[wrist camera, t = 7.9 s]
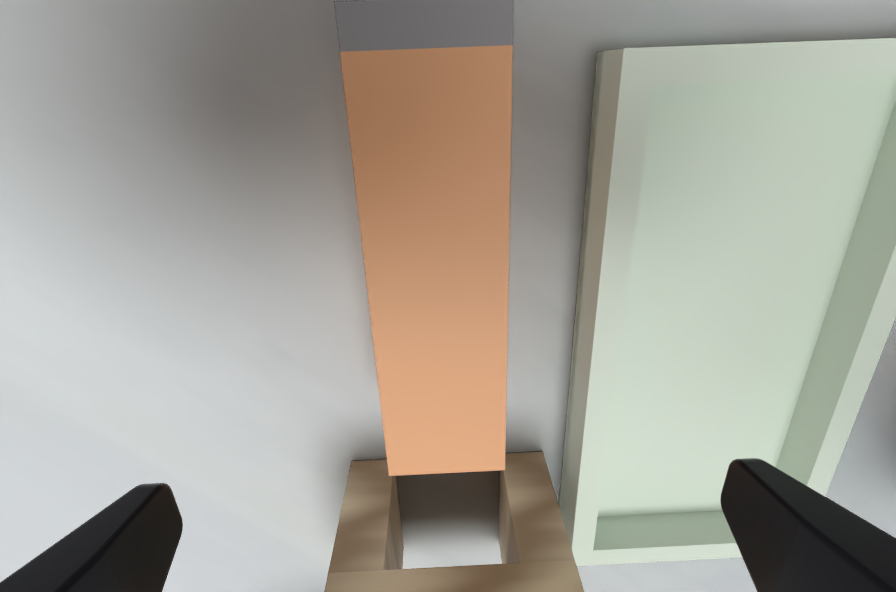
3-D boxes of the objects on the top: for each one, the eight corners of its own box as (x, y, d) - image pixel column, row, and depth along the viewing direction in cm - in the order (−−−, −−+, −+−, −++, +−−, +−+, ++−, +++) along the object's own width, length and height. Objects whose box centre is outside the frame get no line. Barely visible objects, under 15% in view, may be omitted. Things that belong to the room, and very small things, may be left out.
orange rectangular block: (489, 18, 15) (513, -6, 11) (489, 385, 21) (505, 469, 17) (363, 23, 15) (334, 1, 11) (398, 389, 21) (388, 475, 17)
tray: (929, 39, 16) (1008, 33, 14) (769, 512, 25) (802, 554, 23) (597, 52, 16) (623, 48, 14) (557, 523, 25) (570, 566, 23)
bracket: (542, 451, 23) (585, 597, 16) (537, 540, 25) (573, 697, 19) (351, 461, 23) (320, 611, 16) (365, 549, 25) (342, 710, 19)
